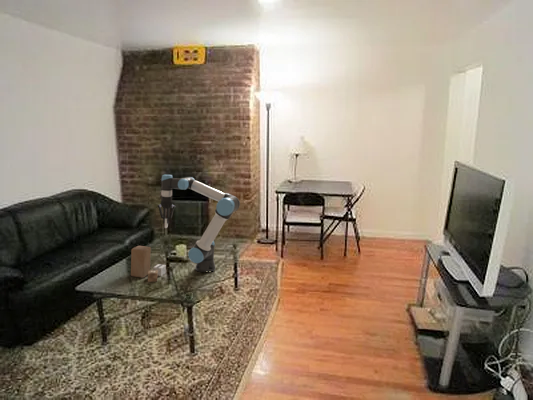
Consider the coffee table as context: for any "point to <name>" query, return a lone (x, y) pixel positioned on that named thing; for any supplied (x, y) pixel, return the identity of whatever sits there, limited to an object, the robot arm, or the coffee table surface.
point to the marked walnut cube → (152, 275)
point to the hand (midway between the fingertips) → (166, 227)
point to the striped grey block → (160, 269)
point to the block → (140, 261)
